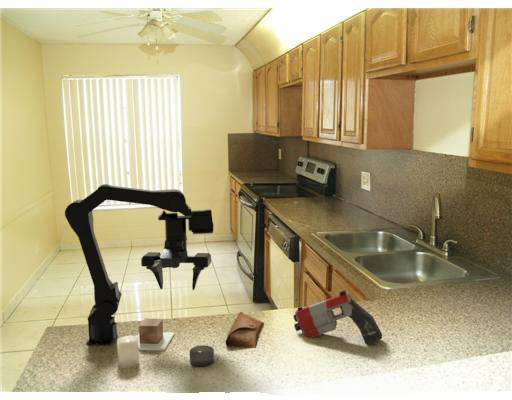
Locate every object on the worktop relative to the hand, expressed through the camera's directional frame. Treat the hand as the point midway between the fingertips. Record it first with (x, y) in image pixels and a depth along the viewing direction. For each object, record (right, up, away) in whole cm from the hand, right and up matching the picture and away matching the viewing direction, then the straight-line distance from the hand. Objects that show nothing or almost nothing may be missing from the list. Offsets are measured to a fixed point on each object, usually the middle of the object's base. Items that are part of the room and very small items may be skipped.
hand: (177, 289), depth 126 cm
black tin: (+9, -15, -15) cm, 23 cm away
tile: (-6, -14, -4) cm, 16 cm away
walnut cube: (-6, -13, -4) cm, 15 cm away
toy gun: (+45, -13, -2) cm, 47 cm away
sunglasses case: (+19, -14, +1) cm, 24 cm away
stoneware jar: (-9, -15, -15) cm, 24 cm away
